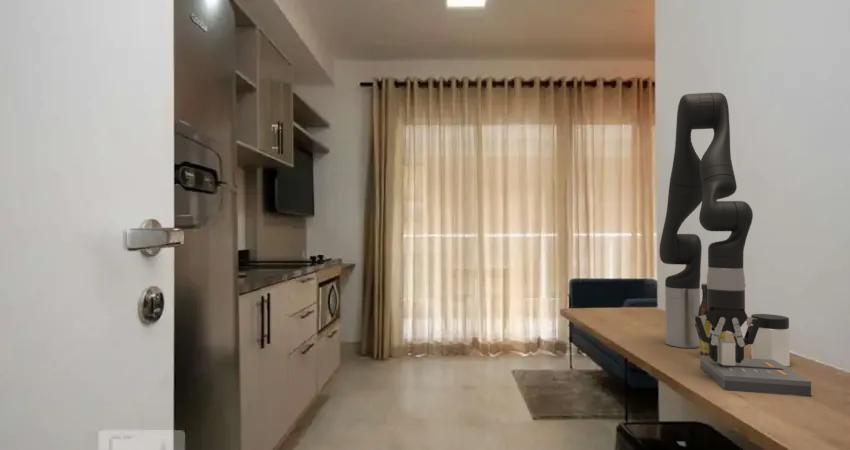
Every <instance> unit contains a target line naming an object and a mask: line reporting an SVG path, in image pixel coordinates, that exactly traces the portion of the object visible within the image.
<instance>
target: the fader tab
mask: <svg viewBox="0 0 850 450" xmlns="http://www.w3.org/2000/svg"><path fill="white" fill-rule="evenodd" d="M735 345H736V343H735V342H733V341H732V340H731V339H725V340H721V339H718V340H717V346H718V362H719V363H721V364H722V365H723V366H725V367H728V365H730V366H735Z"/></svg>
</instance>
